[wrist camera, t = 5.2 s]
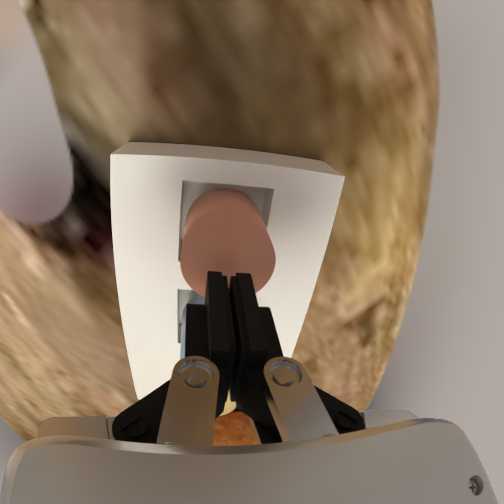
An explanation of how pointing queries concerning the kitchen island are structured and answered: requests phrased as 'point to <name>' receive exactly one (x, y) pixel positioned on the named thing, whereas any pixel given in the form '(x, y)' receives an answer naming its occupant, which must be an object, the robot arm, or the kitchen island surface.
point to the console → (172, 231)
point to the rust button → (225, 240)
